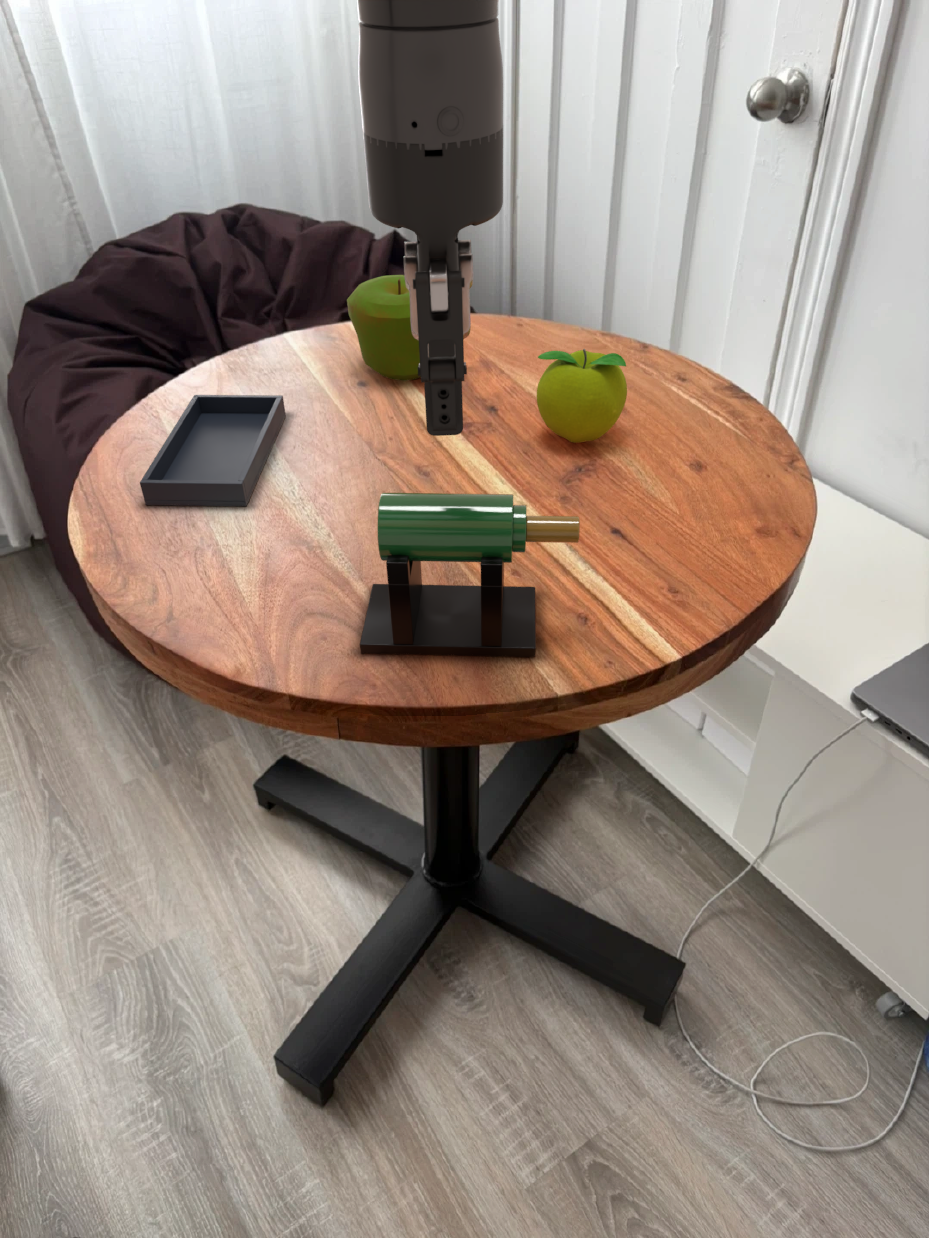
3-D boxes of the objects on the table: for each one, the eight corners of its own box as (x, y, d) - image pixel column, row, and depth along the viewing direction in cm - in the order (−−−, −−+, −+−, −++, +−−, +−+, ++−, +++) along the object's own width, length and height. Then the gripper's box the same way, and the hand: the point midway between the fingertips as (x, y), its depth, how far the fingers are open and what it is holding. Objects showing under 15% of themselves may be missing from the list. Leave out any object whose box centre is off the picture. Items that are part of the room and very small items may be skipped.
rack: (360, 653, 74) (349, 562, 68) (373, 592, 80) (364, 504, 74) (535, 657, 73) (539, 566, 67) (535, 595, 79) (538, 506, 74)
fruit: (606, 464, 96) (614, 374, 90) (523, 446, 99) (526, 358, 93) (633, 426, 103) (642, 339, 96) (555, 410, 106) (559, 325, 99)
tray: (246, 506, 91) (242, 483, 90) (145, 505, 92) (139, 482, 90) (286, 416, 106) (282, 395, 104) (198, 415, 106) (194, 394, 105)
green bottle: (380, 574, 70) (375, 517, 67) (388, 534, 74) (383, 479, 71) (577, 577, 70) (582, 521, 66) (575, 537, 74) (579, 482, 70)
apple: (473, 361, 117) (472, 271, 109) (418, 399, 109) (413, 304, 101) (392, 341, 122) (386, 254, 115) (335, 376, 114) (324, 284, 107)
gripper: (368, 96, 54) (389, 357, 65) (353, 156, 44) (381, 458, 54) (495, 92, 55) (496, 353, 65) (512, 151, 44) (509, 454, 54)
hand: (444, 400), depth 59 cm, fingers open, 8 cm apart
